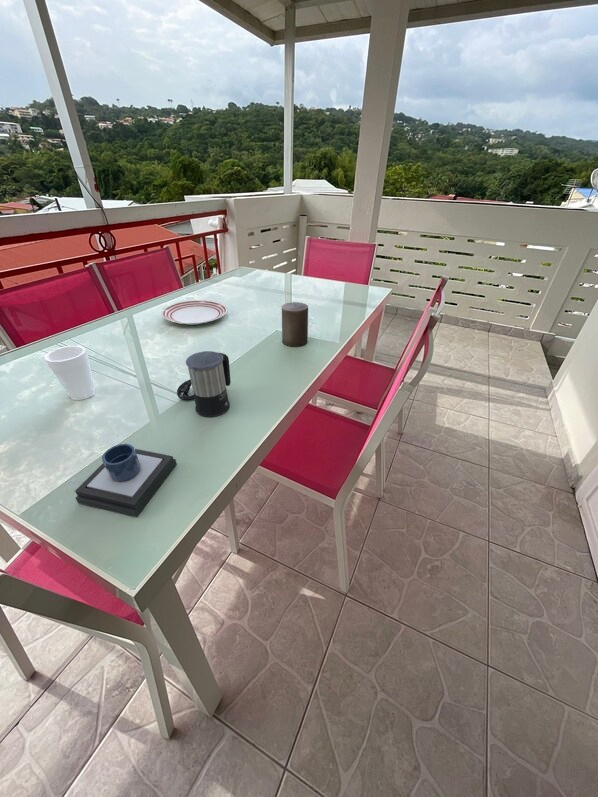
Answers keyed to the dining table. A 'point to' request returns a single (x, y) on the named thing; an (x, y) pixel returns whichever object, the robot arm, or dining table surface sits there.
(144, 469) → the pan
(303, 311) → the pillar candle
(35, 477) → the dining table surface
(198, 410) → the milk frother
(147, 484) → the scale
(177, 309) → the dinner plate
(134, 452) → the blue cup
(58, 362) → the foam cup
